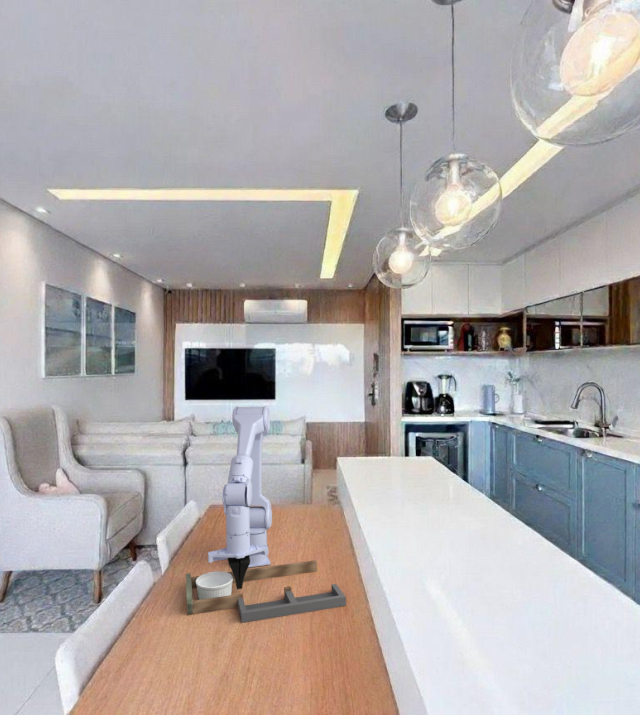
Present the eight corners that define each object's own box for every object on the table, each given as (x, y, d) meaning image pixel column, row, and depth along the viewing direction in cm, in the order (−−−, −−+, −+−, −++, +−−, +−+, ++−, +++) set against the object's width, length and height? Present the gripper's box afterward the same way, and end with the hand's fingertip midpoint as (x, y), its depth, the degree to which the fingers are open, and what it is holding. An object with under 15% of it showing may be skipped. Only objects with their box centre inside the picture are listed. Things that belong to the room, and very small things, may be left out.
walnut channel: (187, 615, 111) (186, 599, 112) (186, 587, 125) (185, 573, 125) (331, 592, 121) (331, 578, 121) (315, 569, 135) (315, 556, 135)
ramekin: (240, 595, 121) (240, 577, 121) (211, 609, 114) (210, 590, 114) (218, 585, 126) (217, 568, 126) (188, 598, 120) (188, 580, 120)
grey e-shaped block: (241, 622, 108) (241, 613, 108) (237, 607, 115) (237, 598, 115) (345, 605, 114) (345, 596, 114) (336, 591, 121) (336, 583, 121)
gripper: (208, 540, 116) (210, 599, 116) (270, 533, 120) (271, 589, 120) (207, 531, 123) (208, 586, 123) (265, 524, 127) (266, 577, 127)
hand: (239, 587), depth 122 cm, fingers closed
